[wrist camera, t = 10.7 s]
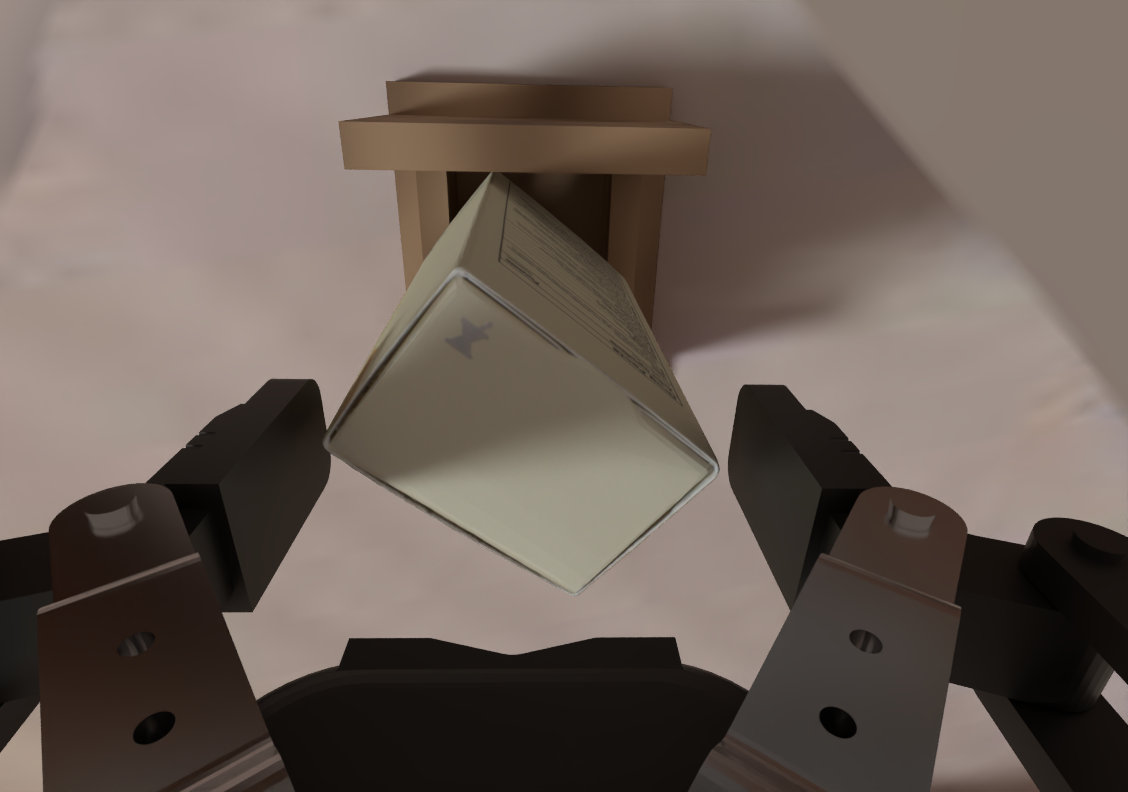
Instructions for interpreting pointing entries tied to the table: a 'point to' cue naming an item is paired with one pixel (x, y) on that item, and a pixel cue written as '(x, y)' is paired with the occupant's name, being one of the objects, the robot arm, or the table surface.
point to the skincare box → (525, 398)
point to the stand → (533, 161)
